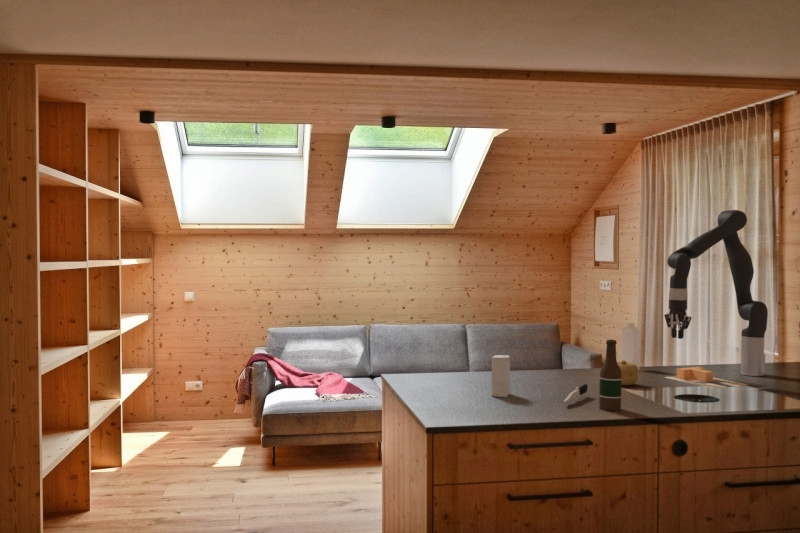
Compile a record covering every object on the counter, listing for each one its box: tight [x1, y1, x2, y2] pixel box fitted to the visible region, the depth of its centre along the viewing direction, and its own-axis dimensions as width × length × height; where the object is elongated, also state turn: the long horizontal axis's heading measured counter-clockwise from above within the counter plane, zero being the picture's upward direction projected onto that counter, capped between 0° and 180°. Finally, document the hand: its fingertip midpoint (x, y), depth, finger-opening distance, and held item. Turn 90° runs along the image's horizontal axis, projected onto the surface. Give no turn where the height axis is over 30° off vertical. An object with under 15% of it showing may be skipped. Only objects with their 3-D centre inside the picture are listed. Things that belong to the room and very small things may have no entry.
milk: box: [620, 322, 641, 372], centre depth 332 cm, size 6×6×22 cm
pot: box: [617, 360, 639, 386], centre depth 297 cm, size 12×12×10 cm
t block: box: [676, 366, 714, 382], centre depth 306 cm, size 12×12×4 cm
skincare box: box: [491, 354, 511, 398], centre depth 272 cm, size 8×6×15 cm
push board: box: [664, 375, 748, 389], centre depth 302 cm, size 20×26×1 cm
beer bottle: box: [598, 339, 622, 412], centre depth 251 cm, size 8×8×24 cm
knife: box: [563, 383, 588, 407], centre depth 262 cm, size 25×2×5 cm, turn 148°
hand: (677, 337), depth 316 cm, fingers open, 3 cm apart
